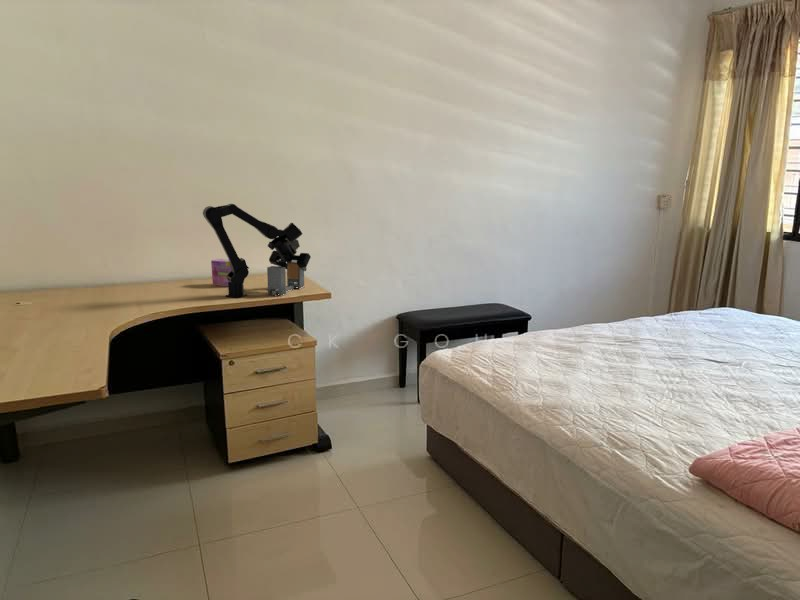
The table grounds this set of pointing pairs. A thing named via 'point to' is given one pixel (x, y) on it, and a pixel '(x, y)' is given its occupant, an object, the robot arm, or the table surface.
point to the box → (220, 271)
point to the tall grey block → (276, 279)
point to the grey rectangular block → (295, 274)
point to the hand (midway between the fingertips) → (297, 269)
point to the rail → (289, 287)
